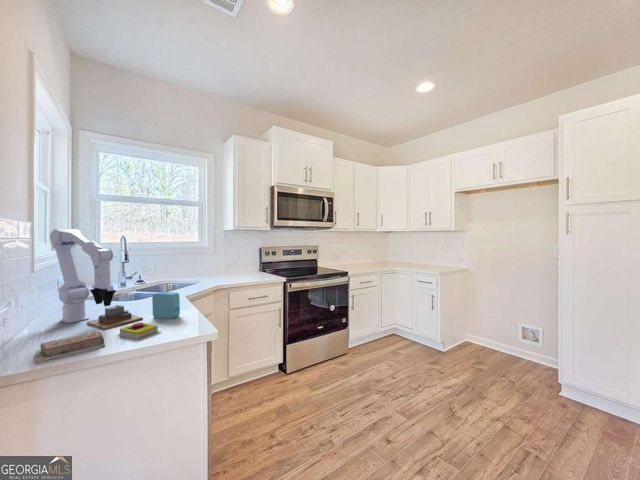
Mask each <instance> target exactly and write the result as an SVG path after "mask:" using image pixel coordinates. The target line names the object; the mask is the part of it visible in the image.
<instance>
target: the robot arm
mask: <svg viewBox="0 0 640 480" xmlns="http://www.w3.org/2000/svg"><path fill="white" fill-rule="evenodd" d="M49 239H50V242H51V246H52V248H53V249H55V253H56V257H57V261H58V263H59V268H60V272H61V274H62V278H63V281H64V284H62V285H61V286H60V287H59V288H58V292H59V293H58V297H59V298H58V299H59V301H60V302H62V304H63V305H62V318H61V319H59V320H60V321H61V322H64V323H65V324H72V323H76V322H80V321H85V320H89V319H90V318H89V317H88V316H86V301H87V298H89V296H90V293H91V295H92V296H93V299H94V302H95V305H100V304H103V306H104V307H109V306H110V307H111V303H112V301H113V297H114V295H115V293H116V292H117V290H116V289H114V285H112V284H111V261H112V260H113V257H114V252H113V251H112V250H111V249H110V248H104V247H103V246H101V245H99V244H98V243H96V241H95V240H88V239H87V238H86V237H84V236H83V234H82V231H80V230H79V228H78V229H75V228H74V229H71V228H70V229H66V228H65V229H64V228H63V229H58V228H57V229H56V228H54V229H52V231H51V232H50V234H49ZM77 245H78V246H79V247H81V250H82V251H83V252H84V253H85V254H87V255H88V256H90V260H91V262H92V266H93V271H94V277H93V279H94V280H93V281H94V283H92V286H91V289H89V287H87V284H86V282H84V281H82V280H80V278H79V276H78V273H77V269H76V265H75V262H74V258H73V253H72V251H71V249H73V248H75V247H76V246H77Z"/></svg>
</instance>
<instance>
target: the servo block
mask: <svg viewBox="0 0 640 480" xmlns="http://www.w3.org/2000/svg"><path fill="white" fill-rule="evenodd" d="M128 312H129V313H130V311H129V310H126V309H125V306H124V305H121V304H119V303H118V304H115V306H110V307H109V306H107V307H105V308H104V314H100V315H99V316H100V317H103V318H106V317H108V318H110V317H114V316H119V315H123V314H124V313H128Z"/></svg>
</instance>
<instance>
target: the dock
mask: <svg viewBox="0 0 640 480" xmlns="http://www.w3.org/2000/svg"><path fill="white" fill-rule="evenodd" d="M139 320H140V321H143V320H144V317H142V316H138V315H134V314H132V312H130V311H129V312H128V313H124V314H123V315H119V316H114V317H110V318H108V317H106V318H103V317H100V315H99V316H98V318H97V319H94V320H89V321H86V325H88V326H92V327H94V328H97V329H100V330H103V331H106V330H109V329H113V328H116V327H119V326H120V327H121V326H124V325H128V324H132V323H136V322H140V321H139ZM135 321H136V322H135Z"/></svg>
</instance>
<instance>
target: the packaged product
mask: <svg viewBox="0 0 640 480" xmlns="http://www.w3.org/2000/svg"><path fill="white" fill-rule="evenodd" d="M104 347H106V344H105V338H104V335H103V334H102V332H101V331H93V332H89V333H84V334H78V335H76V336H75V335H74V336H70V337H69V336H68V337H65V338H60V339H55V340H49V341H45V342H43V343H40V349H38V350H36V351H35V359H34V360H35V363H36V364H39V363H43V362H48V361H50V360H55V359H56V360H57V359H60V358H63V357H69V356H73V355H76V354H81V353H84V352H89V351H93V350H97V349H102V348H104Z"/></svg>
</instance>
